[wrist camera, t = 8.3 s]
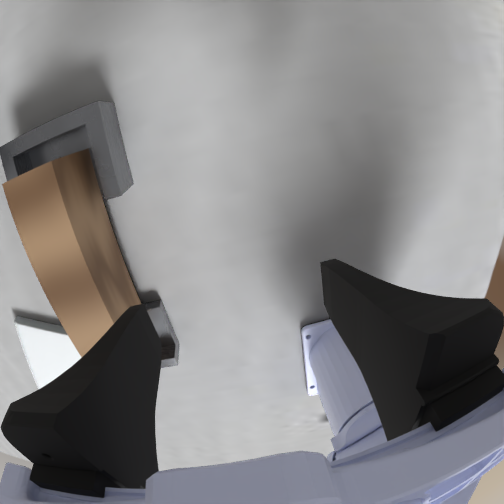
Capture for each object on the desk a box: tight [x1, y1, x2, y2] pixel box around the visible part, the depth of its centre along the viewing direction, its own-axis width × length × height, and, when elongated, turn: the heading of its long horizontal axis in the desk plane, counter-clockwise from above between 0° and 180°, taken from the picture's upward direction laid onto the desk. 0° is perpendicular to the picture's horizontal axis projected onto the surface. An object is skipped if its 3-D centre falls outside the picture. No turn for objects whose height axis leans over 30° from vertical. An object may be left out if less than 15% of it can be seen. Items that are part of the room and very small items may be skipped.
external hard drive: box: [14, 316, 82, 389], centre depth 24 cm, size 2×8×12 cm
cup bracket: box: [0, 101, 134, 200], centre depth 16 cm, size 6×8×3 cm
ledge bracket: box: [143, 300, 179, 368], centre depth 22 cm, size 4×6×2 cm
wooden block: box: [2, 149, 141, 357], centre depth 17 cm, size 14×4×5 cm, turn 10°
